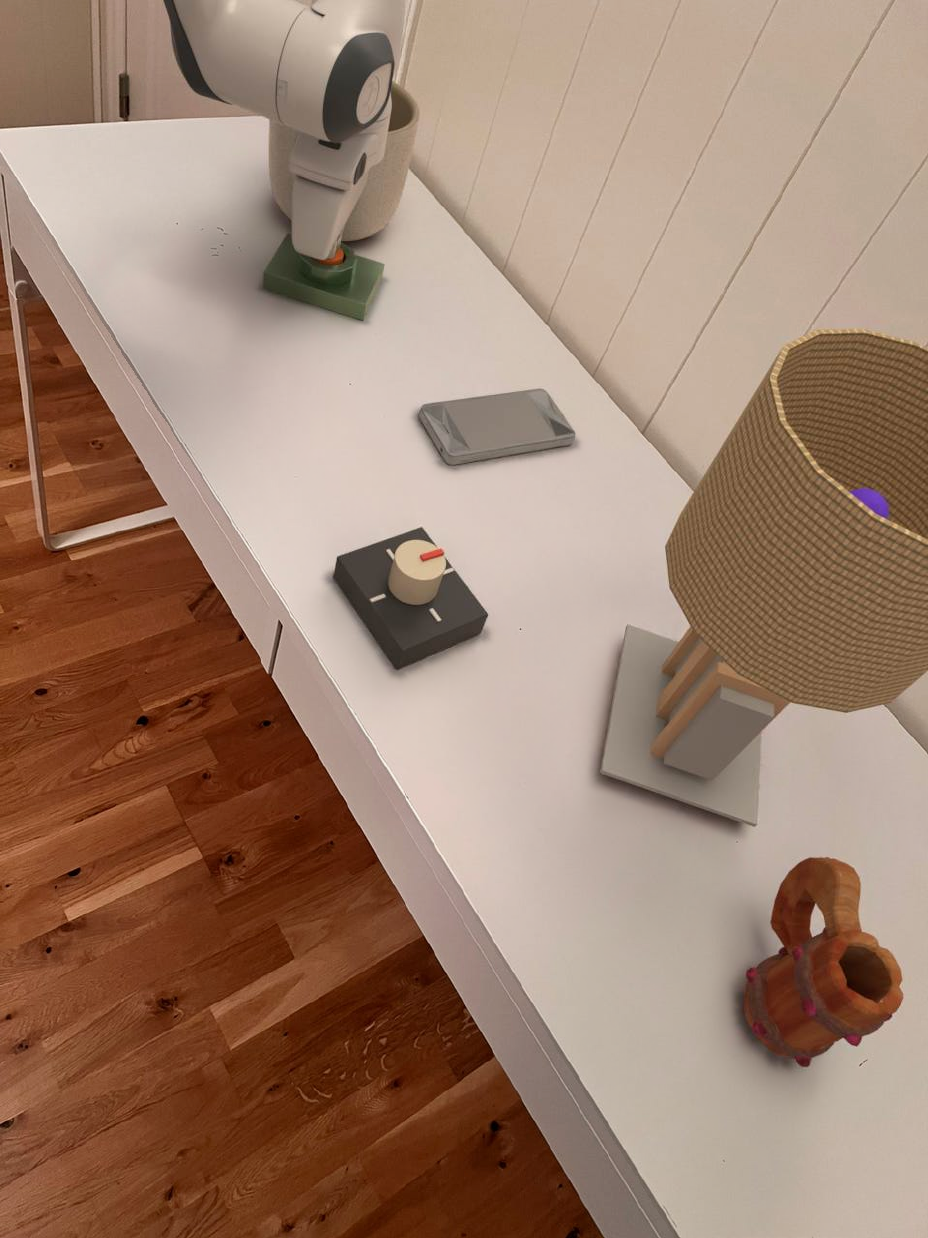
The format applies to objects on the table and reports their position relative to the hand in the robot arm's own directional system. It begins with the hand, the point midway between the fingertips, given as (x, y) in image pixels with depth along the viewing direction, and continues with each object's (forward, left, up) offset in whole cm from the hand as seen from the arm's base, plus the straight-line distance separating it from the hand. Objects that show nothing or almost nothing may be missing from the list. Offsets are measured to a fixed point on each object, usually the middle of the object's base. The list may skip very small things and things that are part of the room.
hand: (329, 251), depth 103 cm
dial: (+20, -43, -1) cm, 47 cm away
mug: (+54, -68, -4) cm, 87 cm away
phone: (+24, -16, -4) cm, 29 cm away
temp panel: (+20, -43, -4) cm, 48 cm away
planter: (-3, +14, -4) cm, 15 cm away
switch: (0, 0, -2) cm, 2 cm away
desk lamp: (+46, -48, -4) cm, 67 cm away
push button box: (0, 0, -4) cm, 4 cm away
